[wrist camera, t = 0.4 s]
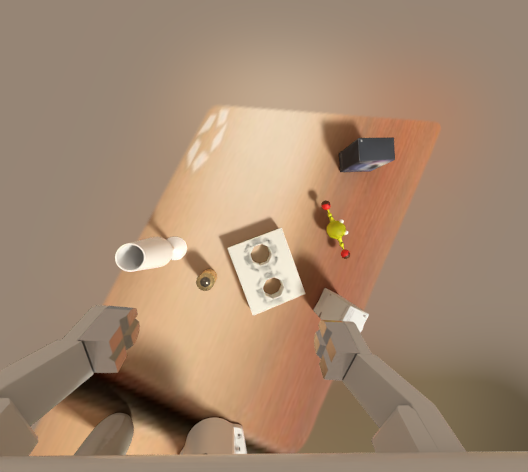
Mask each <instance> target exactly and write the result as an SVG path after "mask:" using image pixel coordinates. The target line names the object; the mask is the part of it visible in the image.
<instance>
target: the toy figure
mask: <svg viewBox="0 0 528 472" xmlns="http://www.w3.org/2000/svg"><path fill="white" fill-rule="evenodd" d="M321 206H322V208H323V209H324V210H327V211H328V217H329V219H330V223H329V224H328V226H327V234H328V235H329V236H330V237H331V238H334V239H337V240H338V241H339V243H340V246H341V247H342V248H343V250H342V252H341V256H342V258H344V259H347V258H349V257H350V253H349V251H348V250H344V247H343V245H344V244H343V242H342V236H343V235H344V234H345V235H347V234H348V231H347V230H346V228H345V225H344V224H343V222H344V220H343V219H340V220H339V221H335V220H334V219H333V217H332V214H331V213H330V212H329V210H328V209H329V208H330V202H329V201H323V202H322V204H321Z"/></svg>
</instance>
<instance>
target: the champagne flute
mask: <svg viewBox="0 0 528 472" xmlns="http://www.w3.org/2000/svg"><path fill="white" fill-rule="evenodd" d="M186 252H187V245H186V243H185V241H184V240H183V239H182V238H180V237H170V238H168V239H167V240H166V239H164V238H161V237H152V238H148V239H144V240H140V241H136V242H132V243H128V244H125V245H122V246H121V247H120V248H119V249H118V250H117V252H116V255H115V261H116V263H117V265H118V266H119V268H121V269H122V270H124V271H128V272H133V271H139V270H145V269H151V268H157V267H162V266H164V265H166V264H167V263H168V262H169V261H170V259H171V260H178V259H181V258H182V257H183V256H184V255H185V254H186Z"/></svg>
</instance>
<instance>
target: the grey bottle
mask: <svg viewBox="0 0 528 472" xmlns="http://www.w3.org/2000/svg"><path fill="white" fill-rule="evenodd" d="M133 431H134V427H133V422H132V419H131V417H130V416H129V415H127V414H124V413H115V414H112V415H110V416H108V417H107V418H105V419H104V420H102V421H101V422H100V423H99V424H98V425H97V426H96V427H95V428H94V429H93V431H92V432H91V433H90V434H89V436H88V437H87V438H86V440H85V441H84V442H83V443H82V445H81V446H80V447H79V449H78V450H77V451H76V453H75V454H74V455H73V456H85V455H126V453H127V450H128V448H129V446H130V443H131V441H132V437H133Z"/></svg>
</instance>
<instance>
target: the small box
mask: <svg viewBox="0 0 528 472" xmlns="http://www.w3.org/2000/svg"><path fill="white" fill-rule="evenodd" d="M393 160H395V152H394V138H358V139H357V140H356V141H354V142H353V143H352V144H350V145H349V146H348V147H347V148H345V149H344V150H343V151H341V152H340V153H339V161H340V172H362V171H372V170H374V169H376V168H378V167H380V166H382V165H385V164H387V163H389V162H391V161H393Z"/></svg>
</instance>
